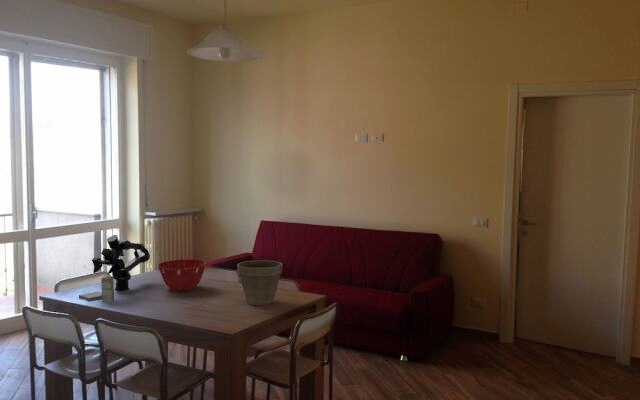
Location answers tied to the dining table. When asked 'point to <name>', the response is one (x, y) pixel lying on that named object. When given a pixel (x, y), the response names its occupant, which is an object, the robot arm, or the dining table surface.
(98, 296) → the base board
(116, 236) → the robot arm
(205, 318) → the dining table surface
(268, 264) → the plant pot
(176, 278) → the mixing bowl
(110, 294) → the green post
